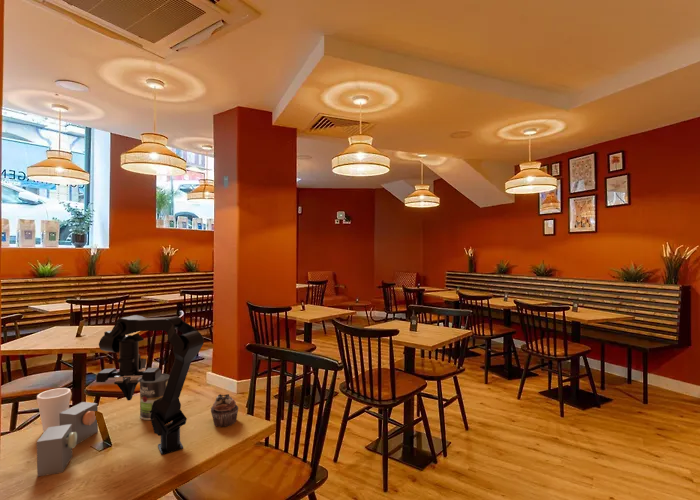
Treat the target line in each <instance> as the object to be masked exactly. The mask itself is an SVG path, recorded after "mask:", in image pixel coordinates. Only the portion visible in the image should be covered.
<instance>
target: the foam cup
mask: <svg viewBox="0 0 700 500" xmlns="http://www.w3.org/2000/svg"><path fill="white" fill-rule="evenodd" d="M71 391H72V390H71V389H70V388H68V387H58V388H53V389H48V390H45V391H42V392H40V393H38V394H37V395H36V403H37V405H38V411H39V415H40V420H41V421H40V422H41V426H42V431H43V433H44V432H45V431H46V430H47V428H48V427H54V426H60V420H59V413H61V412H63V411H65V410H67V409H69V408H70V401H71V397H72V395H71V393H72V392H71Z"/></svg>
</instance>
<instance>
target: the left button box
mask: <svg viewBox="0 0 700 500" xmlns="http://www.w3.org/2000/svg"><path fill="white" fill-rule="evenodd" d="M71 432H72V424H69V425H61V426H54V427H48V428H47V430H46V431H45V432H43V434H41V436H40V437H39V438H38V439H37V441H36V464H37V465H36V466H37V467H36V471H37V474H36V475H37V477H43V476H48V475H54V474H55V475H56V474H61V473H63V472H64V470H66V467H67V466H68V464H69V462H70V461H71V460H72V458H73V448H70V449H69V448H68V444H66V441H65V438H68V437H69V434H70V433H71Z"/></svg>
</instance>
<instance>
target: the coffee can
mask: <svg viewBox="0 0 700 500" xmlns="http://www.w3.org/2000/svg"><path fill="white" fill-rule="evenodd" d="M169 376H170V374H169V373H163V372H161V376H160V377H159V378H157V379H156V380H155V381H144V380H143V379H142V380H141V381H140V382H139V401H140V402H139V410H140V411H139V412H140V414H139V418H140V419H141V420H144V421H151V419H150V416H151V413H150V411H151V409H152V405H153V402H154V401H155V400H157V399H160V398H162V397H163V394H164V391H165V388H166V385H167V382H168V379H169Z"/></svg>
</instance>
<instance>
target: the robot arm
mask: <svg viewBox="0 0 700 500" xmlns="http://www.w3.org/2000/svg"><path fill="white" fill-rule="evenodd" d="M176 330H177V331H179V332H181V333H182V334H180V335H179V334H178V333H177V332H176ZM152 331H153V332H155V331H159V332H160V331H165V333H166V334H167V339H168V341H169V343H170V344H171V346H173V348H172V354H173V356H174V361H173V363H172V367H171V370H170V373H169V379H168V382H167V385H166V388H165V391H164V394H163V397H162V398H160V399H157V400H155V401H154V402H153V405H152V409H151V411H150V413H151V416H150V419H151V420H150V422H151V425H152V429H153V434H156V435H157V436H158V437H160V443H158V444H157V448H158V450H159V451H160V455H165V454H169V453H173V452H176V451H179V450H182V449H184V445H183V444H182V441H181V427H182V426H184V425H186V423H187V420H188V418H187V417H186V415H185V414H184V413H183V410H181V408H182V404H181V401H180V396H181V393H182V390H183V387H184V384H185V381H186V379H187V375H188V374H189V373H188V372H189V370H190V367H191V364H192V361H193V359H194V358H196V356H197V355H198V353H200V351H201V349H202V347H203V346H204V342H205V339H204V338H203V335H202V333H200V332H199V331H198V330H197V329H196V328H195V327H194V326H193V325H191V324H189V323H188V322H186V321H184V320H183V319H182V318H181V317H180V316H177V315H175V316H169V317H167V316H166V317H148V318H147V317H144V316H143V315H138V314H133V315H130V316H125V317H120V318H117V319H116V322H115V324H114V326H113V328H112V329H111V330H107V331H104V333H103V334H104V335H103V336H101V338H100V339H99V342H98V347H99V349H100V351H103V352H109V353H118V354H119V355H118V359H116V363H118V364H119V365H118V366H119V368H118V369H119V370H117V368H104V369H102V370H100V371H99V372H97V374H96V375H95V382H96V383H106V382H107V381H108V380H109V379H114V378H115V379H114V382H113V384H114V385H117V386H118V388H119V389H120V390H121V392H122V393H123V395H124V397H125V399H126V400H127V401H132V399H133V396H134V393H135V391H136V388H137V387H138V386H137V385H138V383H140V381H141V380H142V379H143V380H144V381H155V380H156V379H157V378H159V377H160V376H161V373H162V370H161V369H160V367H148V368H147V369H146V365H147V358H143V357H142V356H141V354H140V353H139V346H140V342H142V341H144V337H143V336H142V335H140V334H139V333H137V332H152ZM133 333H135V334H133ZM131 334H132V335H131ZM143 369H144V370H143Z"/></svg>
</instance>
